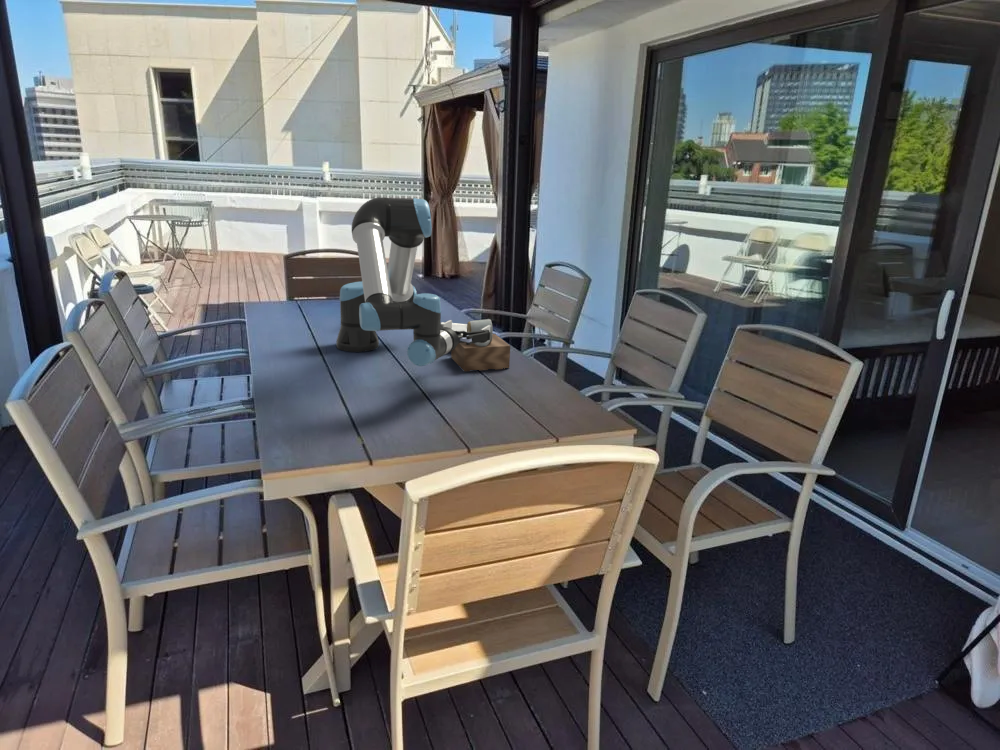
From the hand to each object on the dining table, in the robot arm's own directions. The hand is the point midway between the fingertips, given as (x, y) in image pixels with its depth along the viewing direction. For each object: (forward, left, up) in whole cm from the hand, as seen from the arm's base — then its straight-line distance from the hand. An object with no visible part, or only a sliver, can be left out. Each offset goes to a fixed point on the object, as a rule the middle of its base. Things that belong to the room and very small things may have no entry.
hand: (469, 326), depth 207 cm
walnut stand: (+6, +7, -15) cm, 18 cm away
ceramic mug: (+6, +5, -7) cm, 10 cm away
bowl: (+4, +31, -15) cm, 35 cm away
